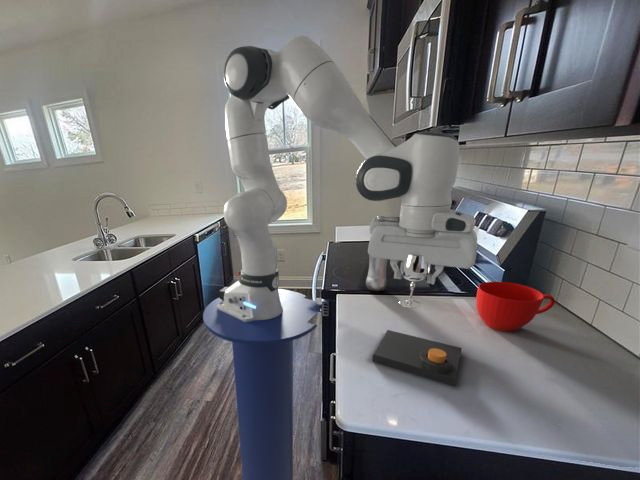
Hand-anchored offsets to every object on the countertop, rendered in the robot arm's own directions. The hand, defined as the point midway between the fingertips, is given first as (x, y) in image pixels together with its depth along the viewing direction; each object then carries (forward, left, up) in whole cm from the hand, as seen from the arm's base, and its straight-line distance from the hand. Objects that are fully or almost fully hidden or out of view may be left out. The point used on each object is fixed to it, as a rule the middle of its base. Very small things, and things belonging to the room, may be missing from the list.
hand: (414, 280), depth 70 cm
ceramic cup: (+20, +26, -18) cm, 37 cm away
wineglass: (0, 0, -6) cm, 6 cm away
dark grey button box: (+3, -2, -18) cm, 18 cm away
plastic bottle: (-16, +34, -18) cm, 41 cm away
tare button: (+7, -6, -15) cm, 17 cm away
